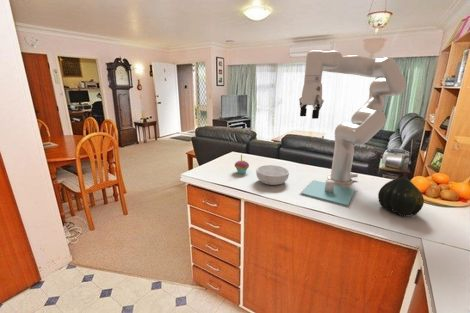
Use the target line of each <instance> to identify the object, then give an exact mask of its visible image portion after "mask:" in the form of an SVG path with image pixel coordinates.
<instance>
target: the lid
mask: <svg viewBox="0 0 470 313" xmlns="http://www.w3.org/2000/svg"><path fill="white" fill-rule="evenodd" d="M312 181H313V182H312ZM312 181H311V182H312V183H311V182H310V183H311V184H310V183H309V184H310V185H309V184H308V185H309V186H308V185H307V186H308V187H307V186H306V187H307V188H306V187H305V188H306V189H305V188H304V189H305V190H304V189H303V190H304V191H303V190H302V191H303V192H302V191H301V192H302V193H301V192H300V193H301V195H305V196H309V197H313V198H316V199H320V200H324V201H328V202H332V203H335V204H339V205H343V206H347V207H348V205H349V203H350V201H351V199H352V197H353V194H354V192H355V190H356V189H355V188H350V187H346V186H342V185H339V184H337V185H336V183H335V181H333V180H328V179H326V180H325V182H323V181H319V180H316V179H314V180H312ZM301 195H300V196H301ZM305 196H304V197H305ZM309 197H308V198H309ZM316 199H315V200H316ZM320 200H319V201H320ZM324 201H323V202H324ZM335 204H334V205H335ZM339 205H338V206H339Z"/></svg>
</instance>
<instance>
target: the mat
mask: <svg viewBox="0 0 470 313" xmlns="http://www.w3.org/2000/svg"><path fill="white" fill-rule="evenodd" d="M313 181H314V180H312V181H311V182H310V183H309V184H308V185H307V186H305V188H303V190H302V191H301V192H299V194H298V196H301V197H305V198H309V199H312V200H317V201H320V202H324V203H328V204H332V205H335V206H340V207H343V208H348V209H351V207H352V205H353V202H354V200H355V198H356V195H357V193H358V190H356V189H355V192H354V194H353V197H352V199H351V201H350V203H349V205H348V207H347V206H343V205H339V204H335V203H332V202H328V201H324V200H320V199H316V198H313V197H309V196H305V195H301V193H302V192H303V191H304V190H305V189H306V188H307V187H308V186H309V185H310V184H311V183H312V182H313Z"/></svg>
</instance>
